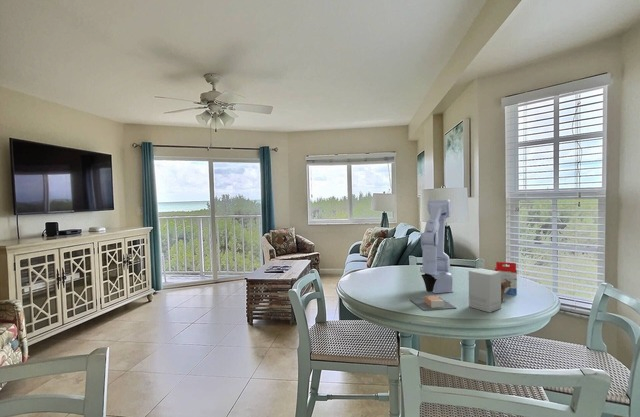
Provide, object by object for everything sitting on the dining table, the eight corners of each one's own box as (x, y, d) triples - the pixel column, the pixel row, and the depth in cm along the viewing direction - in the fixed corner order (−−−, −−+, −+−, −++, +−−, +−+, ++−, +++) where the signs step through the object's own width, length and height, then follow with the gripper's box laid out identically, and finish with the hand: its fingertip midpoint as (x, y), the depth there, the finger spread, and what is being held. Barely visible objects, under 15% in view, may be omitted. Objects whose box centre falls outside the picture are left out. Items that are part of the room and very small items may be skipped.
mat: (439, 297, 142) (439, 297, 142) (456, 308, 128) (456, 307, 128) (409, 299, 140) (409, 298, 140) (423, 310, 127) (423, 309, 127)
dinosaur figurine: (497, 296, 143) (497, 276, 143) (511, 299, 138) (511, 278, 138) (480, 302, 136) (480, 280, 136) (494, 305, 131) (494, 283, 131)
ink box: (515, 292, 149) (515, 261, 149) (516, 295, 145) (516, 263, 144) (494, 290, 153) (494, 259, 152) (495, 293, 148) (495, 261, 148)
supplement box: (502, 308, 128) (502, 271, 127) (489, 313, 123) (489, 274, 122) (480, 302, 135) (480, 267, 135) (467, 306, 130) (467, 270, 130)
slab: (435, 295, 136) (443, 300, 129) (435, 301, 136) (443, 306, 129) (424, 296, 136) (431, 301, 129) (424, 302, 136) (431, 307, 129)
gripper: (413, 257, 142) (413, 287, 143) (428, 263, 128) (428, 297, 128) (428, 256, 143) (428, 286, 144) (444, 263, 129) (444, 296, 129)
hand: (429, 291), depth 136 cm, fingers closed
